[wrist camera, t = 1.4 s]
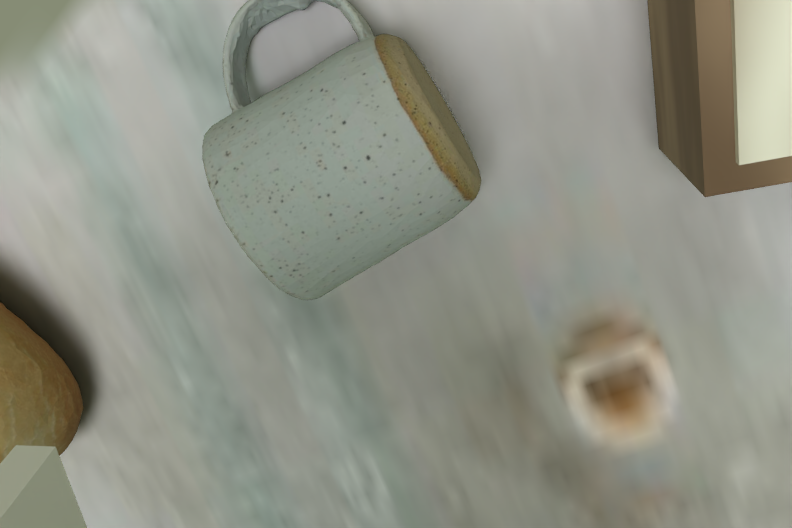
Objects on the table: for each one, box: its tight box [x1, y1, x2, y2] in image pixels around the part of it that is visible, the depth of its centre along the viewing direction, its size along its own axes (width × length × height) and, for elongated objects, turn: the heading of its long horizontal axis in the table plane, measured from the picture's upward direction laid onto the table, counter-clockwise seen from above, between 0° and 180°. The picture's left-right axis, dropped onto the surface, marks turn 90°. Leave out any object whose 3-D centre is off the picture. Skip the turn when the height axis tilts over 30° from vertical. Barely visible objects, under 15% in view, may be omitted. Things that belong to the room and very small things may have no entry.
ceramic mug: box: [202, 0, 481, 300], centre depth 26 cm, size 11×8×8 cm
